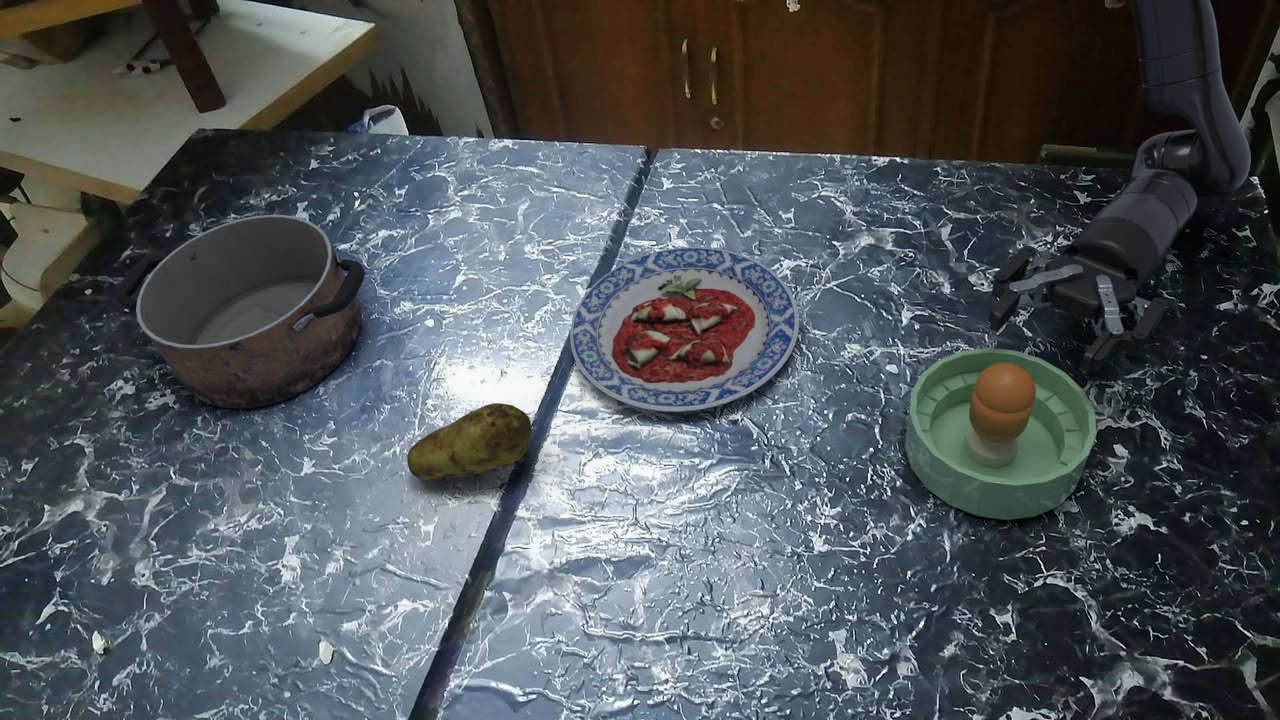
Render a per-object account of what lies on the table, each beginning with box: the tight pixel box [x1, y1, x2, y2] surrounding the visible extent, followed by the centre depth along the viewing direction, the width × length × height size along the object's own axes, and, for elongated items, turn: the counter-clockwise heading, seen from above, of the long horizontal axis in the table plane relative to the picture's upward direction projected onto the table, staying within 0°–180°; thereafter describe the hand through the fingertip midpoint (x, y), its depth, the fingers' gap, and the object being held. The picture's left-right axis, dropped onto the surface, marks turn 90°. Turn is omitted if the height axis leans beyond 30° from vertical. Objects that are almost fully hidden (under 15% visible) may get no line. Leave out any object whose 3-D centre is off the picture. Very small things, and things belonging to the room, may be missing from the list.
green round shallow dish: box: [904, 347, 1098, 521], centre depth 88 cm, size 16×16×6 cm
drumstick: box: [964, 363, 1036, 468], centre depth 86 cm, size 5×5×11 cm
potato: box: [406, 402, 532, 482], centre depth 94 cm, size 8×13×8 cm, turn 75°
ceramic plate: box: [569, 246, 800, 413], centre depth 105 cm, size 26×26×3 cm
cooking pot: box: [114, 214, 366, 410], centre depth 110 cm, size 30×22×11 cm
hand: (1038, 344), depth 84 cm, fingers open, 8 cm apart
